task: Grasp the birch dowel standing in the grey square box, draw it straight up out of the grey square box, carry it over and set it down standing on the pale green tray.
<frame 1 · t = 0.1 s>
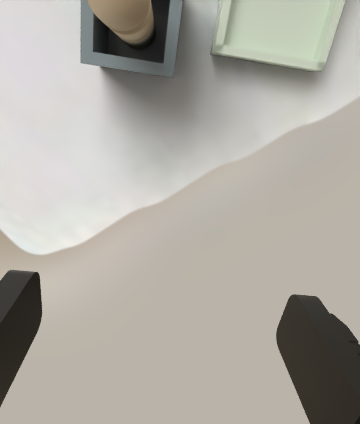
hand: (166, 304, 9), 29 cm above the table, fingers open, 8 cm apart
dowel: (138, 29, 30), point 1 cm above the table, touching grey square box
grey square box: (138, 30, 31), on the table
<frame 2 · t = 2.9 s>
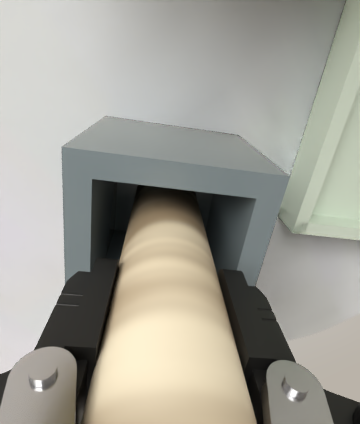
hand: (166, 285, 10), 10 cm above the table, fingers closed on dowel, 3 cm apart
dowel: (165, 192, 18), point 1 cm above the table, touching grey square box, gripper
grey square box: (165, 188, 19), on the table
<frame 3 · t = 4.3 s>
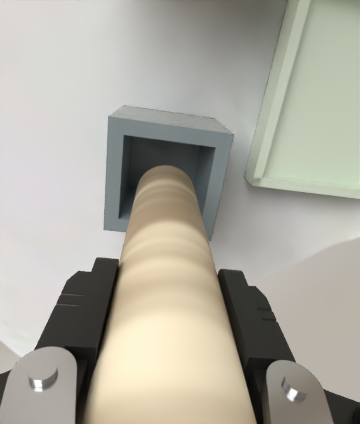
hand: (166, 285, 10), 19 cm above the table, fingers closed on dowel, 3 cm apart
dowel: (165, 192, 18), point 10 cm above the table, touching gripper
grey square box: (164, 156, 27), on the table
tray: (330, 99, 26), on the table
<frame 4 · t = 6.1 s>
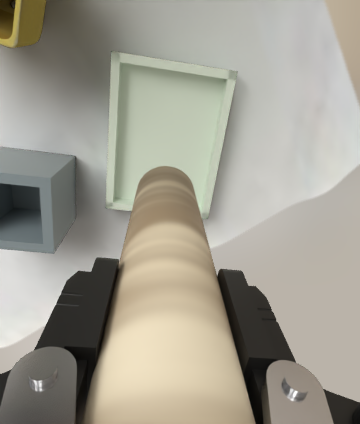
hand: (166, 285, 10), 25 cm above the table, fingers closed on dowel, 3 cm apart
dowel: (165, 193, 18), point 16 cm above the table, touching gripper
grey square box: (40, 184, 34), on the table
tray: (165, 141, 33), on the table
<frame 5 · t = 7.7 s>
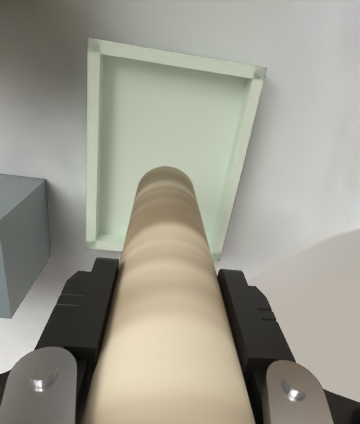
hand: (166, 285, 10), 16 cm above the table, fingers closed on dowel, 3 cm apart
dowel: (165, 194, 18), point 7 cm above the table, touching gripper
grey square box: (2, 215, 26), on the table
tray: (165, 160, 25), on the table
when the fingers open (10 cm above the table, at t = 9.2 s): dowel stays where it is, resting on tray.
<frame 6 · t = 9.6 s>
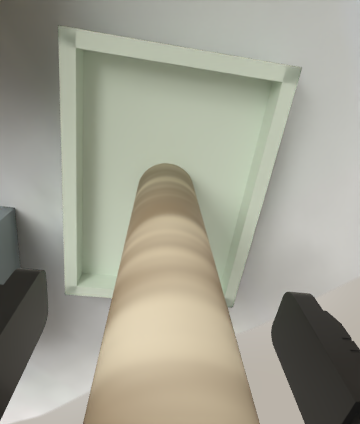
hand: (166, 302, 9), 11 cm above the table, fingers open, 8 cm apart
dowel: (165, 190, 19), point 1 cm above the table, touching tray
tray: (165, 184, 20), on the table
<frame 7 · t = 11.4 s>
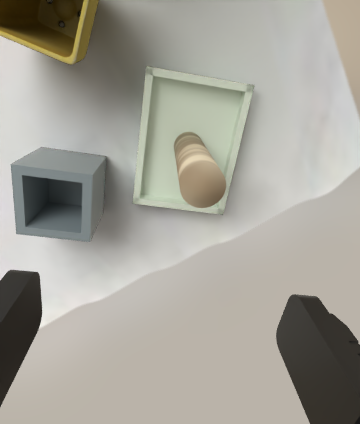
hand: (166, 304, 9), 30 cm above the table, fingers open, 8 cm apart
dowel: (188, 146, 36), point 1 cm above the table, touching tray
flower pot: (66, 10, 31), on the table
grey square box: (74, 181, 38), on the table
tray: (187, 144, 37), on the table
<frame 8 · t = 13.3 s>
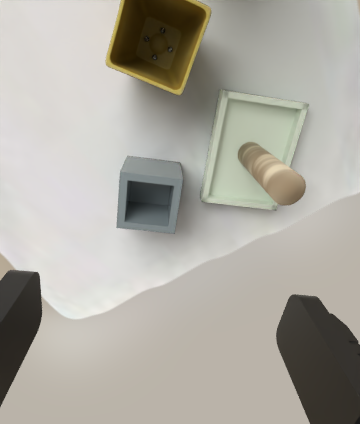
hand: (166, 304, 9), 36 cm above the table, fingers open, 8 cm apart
dowel: (249, 153, 43), point 1 cm above the table, touching tray
flower pot: (158, 45, 38), on the table
grey square box: (151, 183, 46), on the table
tray: (247, 151, 44), on the table
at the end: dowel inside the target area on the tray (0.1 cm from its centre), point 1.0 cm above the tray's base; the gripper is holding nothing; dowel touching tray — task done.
